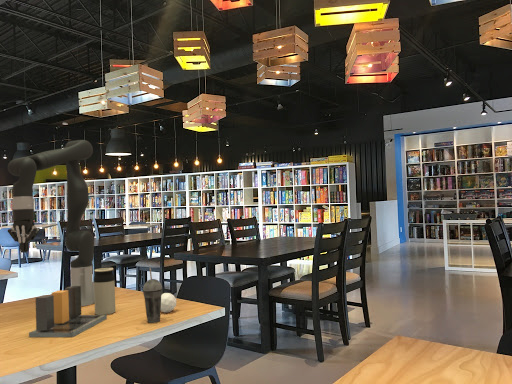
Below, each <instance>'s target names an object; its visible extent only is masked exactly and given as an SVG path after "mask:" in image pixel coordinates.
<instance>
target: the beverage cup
mask: <svg viewBox="0 0 512 384" xmlns="http://www.w3.org/2000/svg"><path fill="white" fill-rule="evenodd" d="M152 274H153V273H152V267H149V276H150V278H149V279H148V280H146V282H145V283H144V285H143V287H142V294H143V297H144V306H145V307H144V308H145V313H146V320H147V321H146V322H147V323H148V324H154V323H155V324H156V323H159V322H161V312H162V311H161V295H162V294H163V286H162V283H161V282H160V281H159V280H158V279H156V278H153V277H152V276H153V275H152Z"/></svg>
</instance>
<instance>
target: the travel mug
mask: <svg viewBox="0 0 512 384" xmlns="http://www.w3.org/2000/svg"><path fill="white" fill-rule="evenodd" d="M93 272H95V273H94V274H95V275H94V277H93V282H94V299H95V303H94V315H111V314H114V313H115V312H116V287H115V281H116V280H115V274H114V268H113V267H103V268H96V269H94V271H93Z"/></svg>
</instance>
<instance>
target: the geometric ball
mask: <svg viewBox="0 0 512 384" xmlns="http://www.w3.org/2000/svg"><path fill="white" fill-rule="evenodd" d="M176 307H177V299H176V297H175V295H173V294H172V293H171V292H164V293H162V295H161V312H162V313H166V314H167V313H168V314H169V313H171V312H172V311H174V309H175V308H176Z"/></svg>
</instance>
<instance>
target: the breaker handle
mask: <svg viewBox="0 0 512 384" xmlns="http://www.w3.org/2000/svg"><path fill="white" fill-rule="evenodd" d="M51 295H54V323H64V322H67V321H69V298H68V290H65V289H64V290H62V289H60V290H56V291H53V292H51Z"/></svg>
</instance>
